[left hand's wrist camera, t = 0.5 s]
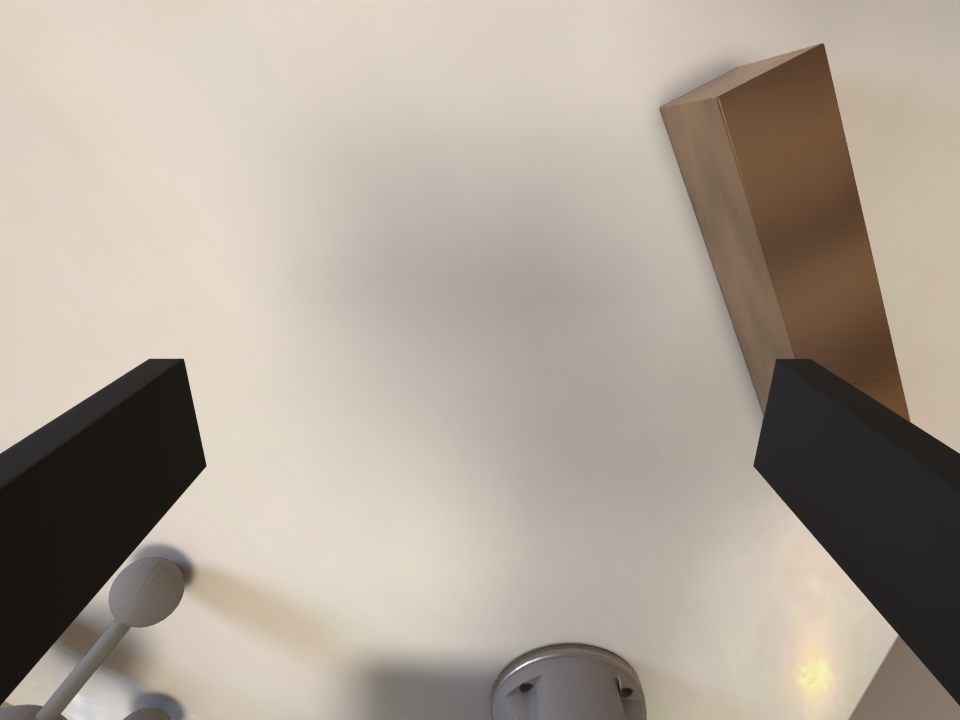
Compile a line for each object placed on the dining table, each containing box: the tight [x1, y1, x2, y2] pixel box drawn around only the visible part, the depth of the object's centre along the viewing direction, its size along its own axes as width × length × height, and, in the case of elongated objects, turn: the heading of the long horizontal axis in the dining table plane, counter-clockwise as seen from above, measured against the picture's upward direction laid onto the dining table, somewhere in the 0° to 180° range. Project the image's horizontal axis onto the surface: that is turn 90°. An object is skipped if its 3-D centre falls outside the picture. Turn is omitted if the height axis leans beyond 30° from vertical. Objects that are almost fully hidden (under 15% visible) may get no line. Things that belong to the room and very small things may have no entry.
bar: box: [660, 43, 910, 422], centre depth 36 cm, size 34×5×9 cm, turn 26°
